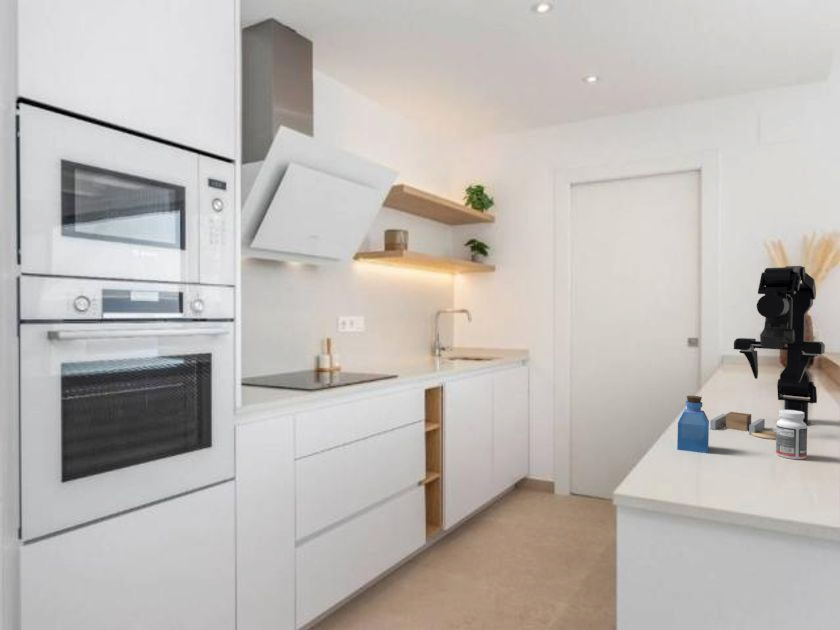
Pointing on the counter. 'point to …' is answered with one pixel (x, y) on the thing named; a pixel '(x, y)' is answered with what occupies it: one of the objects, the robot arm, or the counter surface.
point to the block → (738, 421)
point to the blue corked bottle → (693, 427)
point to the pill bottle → (791, 435)
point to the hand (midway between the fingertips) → (776, 380)
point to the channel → (721, 421)
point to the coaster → (765, 434)
